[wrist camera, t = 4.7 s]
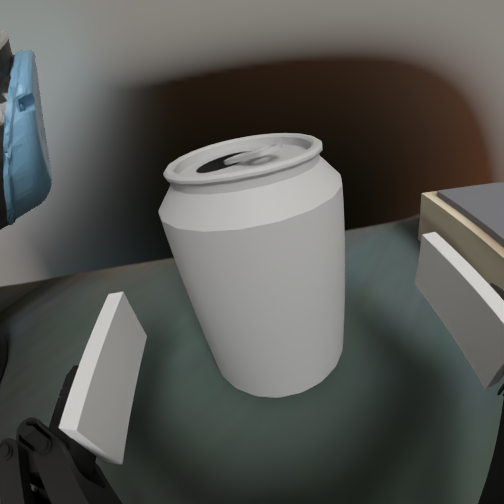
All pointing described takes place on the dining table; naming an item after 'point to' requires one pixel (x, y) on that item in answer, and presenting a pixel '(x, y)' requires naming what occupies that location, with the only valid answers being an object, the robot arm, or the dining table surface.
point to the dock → (469, 225)
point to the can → (262, 257)
